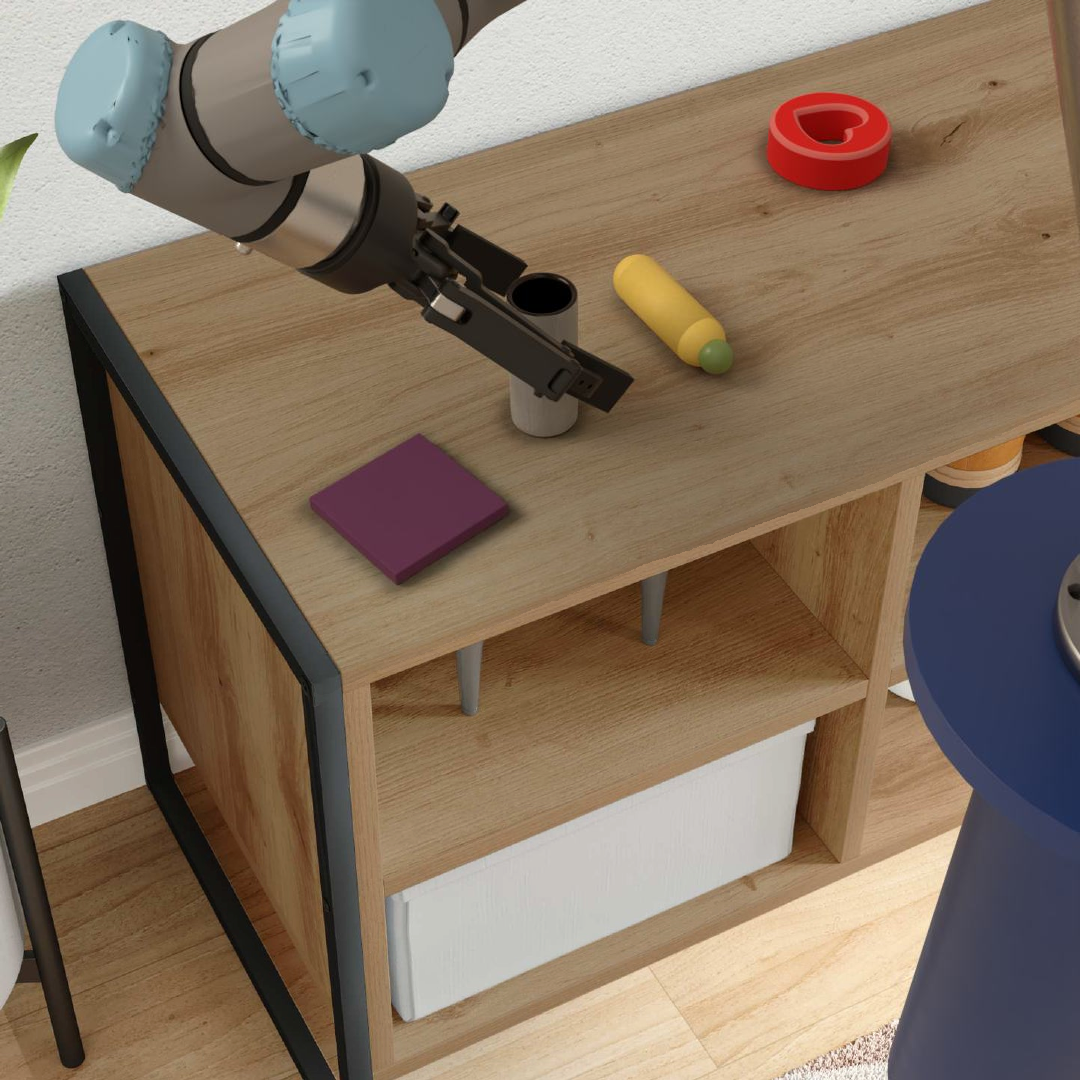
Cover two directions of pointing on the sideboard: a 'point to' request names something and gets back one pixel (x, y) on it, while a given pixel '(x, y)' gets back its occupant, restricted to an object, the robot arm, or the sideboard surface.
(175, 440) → the sideboard surface
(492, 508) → the cloth
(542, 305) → the grey hollow cylinder
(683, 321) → the corn
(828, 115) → the decorative ornament
